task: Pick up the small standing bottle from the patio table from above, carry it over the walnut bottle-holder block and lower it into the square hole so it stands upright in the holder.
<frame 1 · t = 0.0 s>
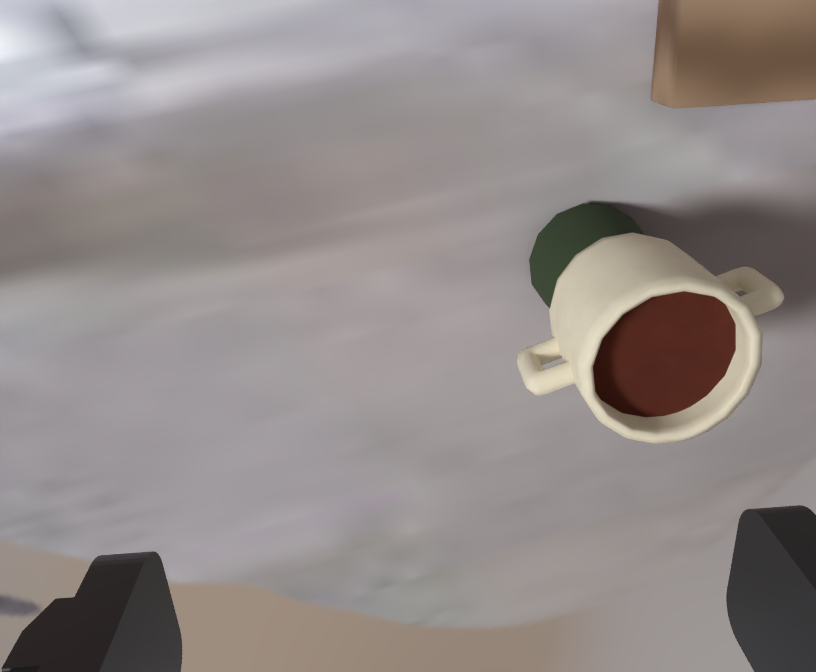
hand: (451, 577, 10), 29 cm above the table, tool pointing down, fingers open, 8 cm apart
character mug: (582, 255, 39), on the table
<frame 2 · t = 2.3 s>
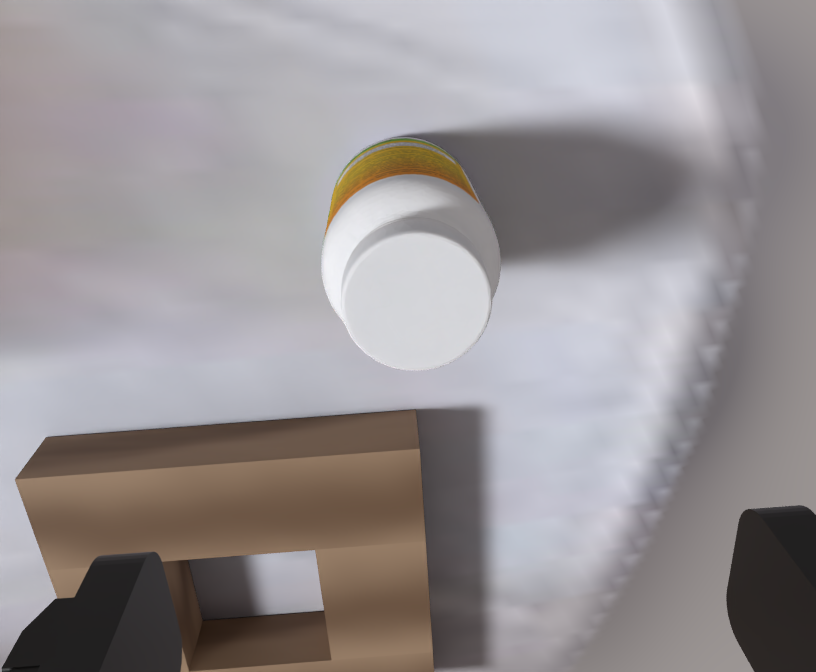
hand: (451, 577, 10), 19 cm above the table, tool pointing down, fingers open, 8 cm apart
walnut bottle holder: (259, 565, 35), on the table
supplement bottle: (402, 205, 28), on the table
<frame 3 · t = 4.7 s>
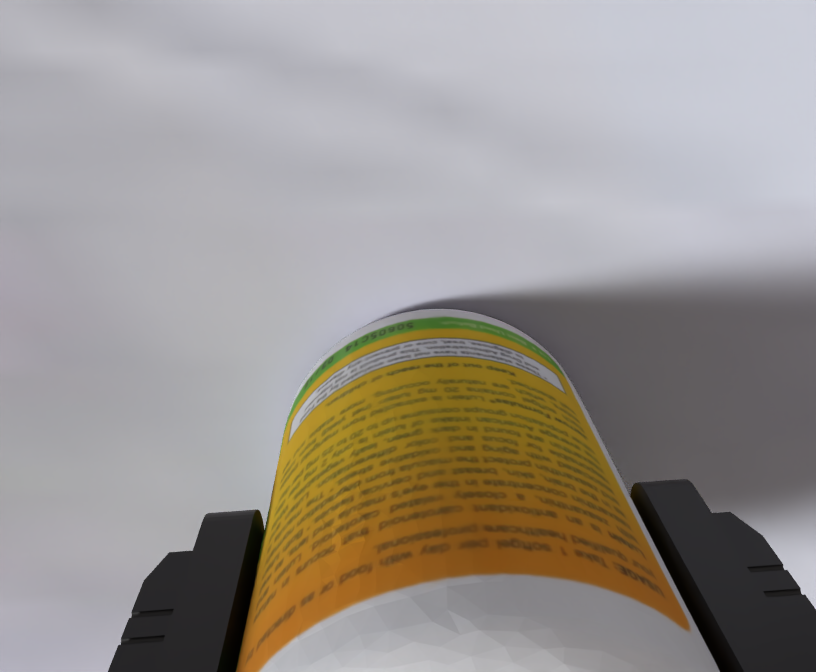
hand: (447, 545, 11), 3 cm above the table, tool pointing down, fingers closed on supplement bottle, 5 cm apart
supplement bottle: (432, 429, 14), on the table, touching gripper
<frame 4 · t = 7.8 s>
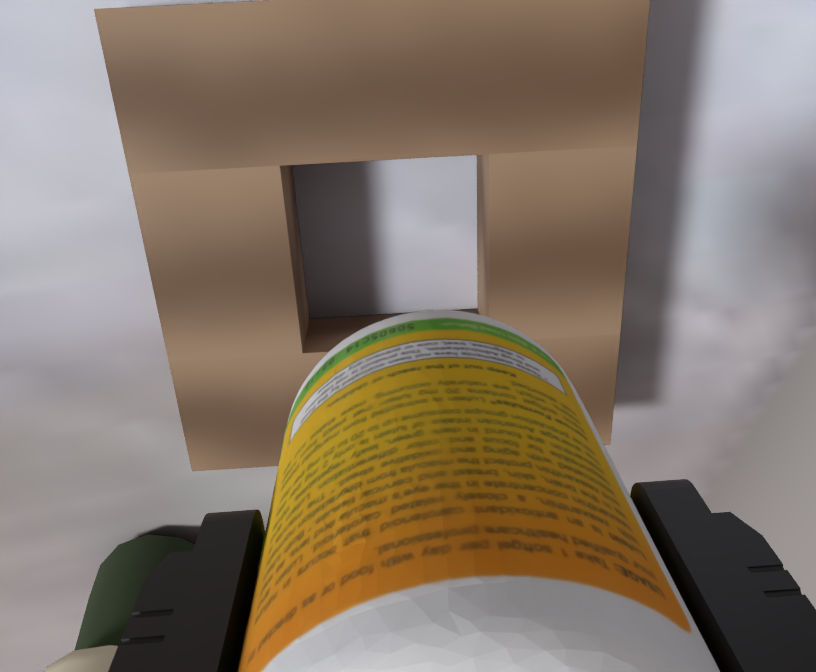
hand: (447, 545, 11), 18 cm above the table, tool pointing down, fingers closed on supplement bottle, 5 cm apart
character mug: (173, 575, 34), on the table
walnut bottle holder: (388, 232, 27), on the table
supplement bottle: (432, 430, 14), point 14 cm above the table, touching gripper
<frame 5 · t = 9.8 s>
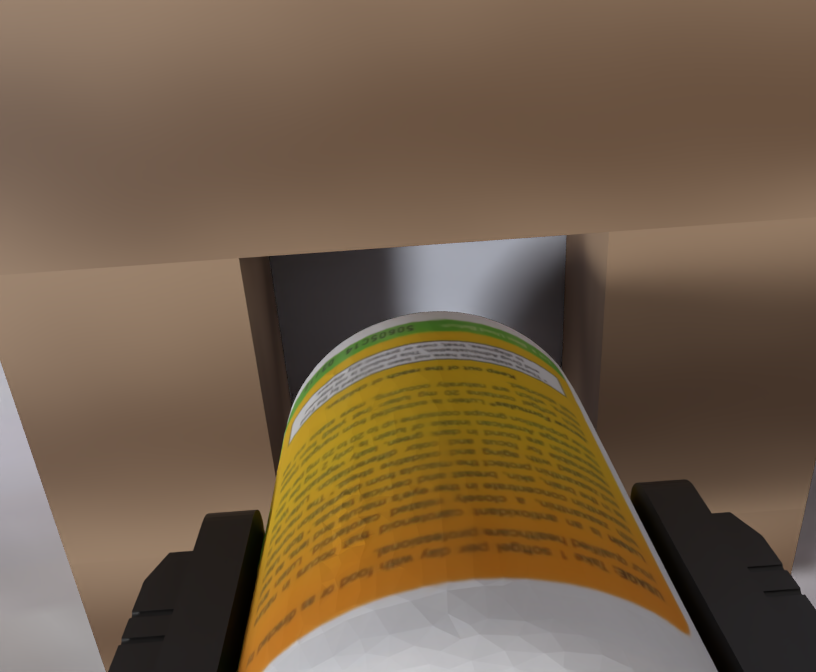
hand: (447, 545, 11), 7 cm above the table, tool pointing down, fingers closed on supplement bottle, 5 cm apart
walnut bottle holder: (423, 339, 17), on the table
supplement bottle: (432, 431, 14), point 4 cm above the table, touching gripper
when the fingers open (5 cm above the table, at t = 11.2 s): supplement bottle drops 2 cm, resting in walnut bottle holder.
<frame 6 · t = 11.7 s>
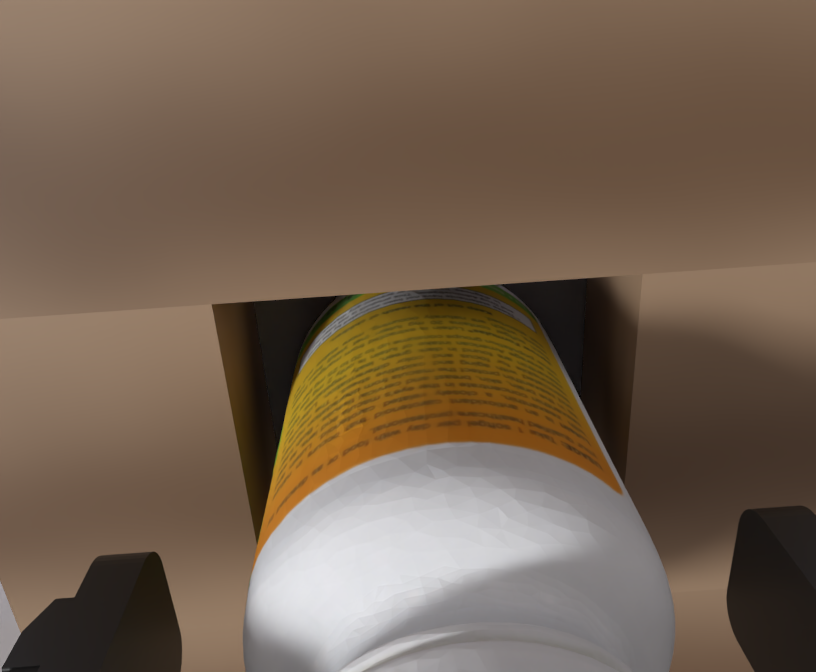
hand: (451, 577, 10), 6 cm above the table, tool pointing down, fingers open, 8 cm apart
walnut bottle holder: (425, 383, 15), on the table
supplement bottle: (423, 375, 15), resting in walnut bottle holder
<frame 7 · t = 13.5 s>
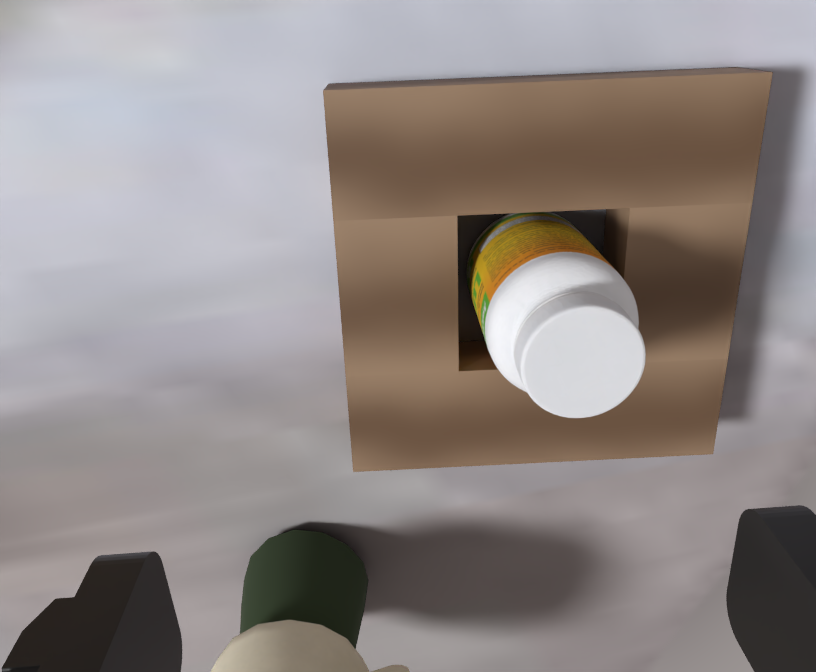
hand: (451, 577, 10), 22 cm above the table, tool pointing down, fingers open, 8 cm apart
character mug: (308, 567, 38), on the table
walnut bottle holder: (526, 269, 31), on the table
supplement bottle: (525, 266, 32), resting in walnut bottle holder
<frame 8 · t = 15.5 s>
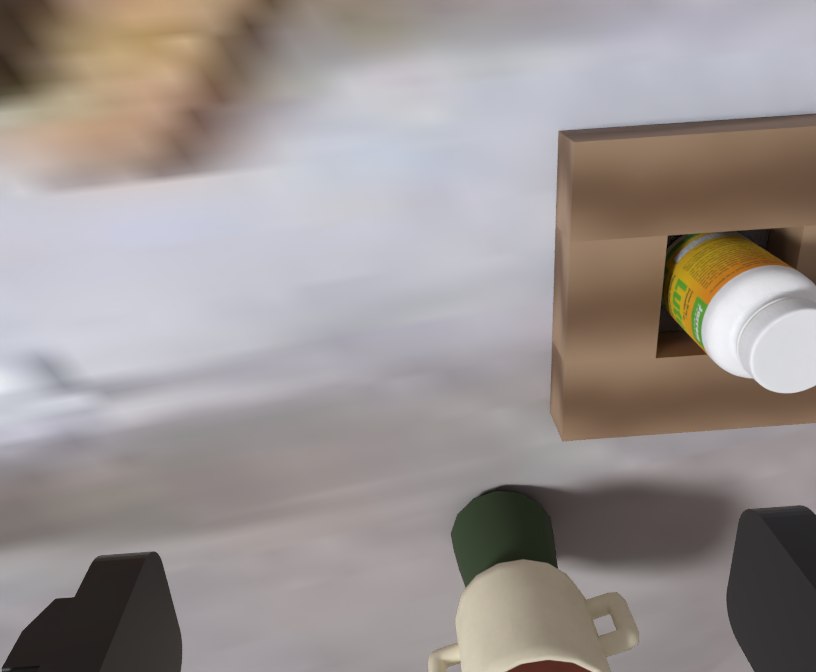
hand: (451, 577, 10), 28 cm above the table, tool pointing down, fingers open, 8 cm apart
character mug: (498, 522, 46), on the table
walnut bottle holder: (702, 273, 39), on the table
supplement bottle: (700, 271, 39), resting in walnut bottle holder
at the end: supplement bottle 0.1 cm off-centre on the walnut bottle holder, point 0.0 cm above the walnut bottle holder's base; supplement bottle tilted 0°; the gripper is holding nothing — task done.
